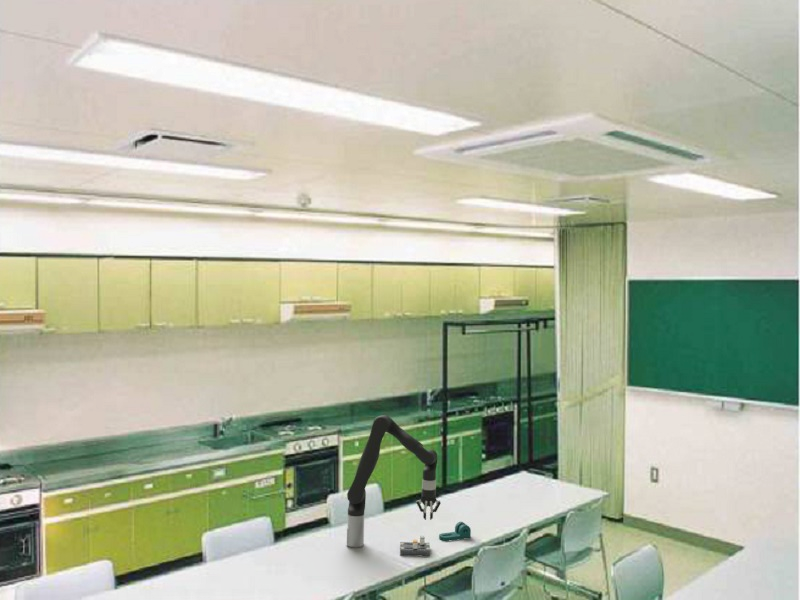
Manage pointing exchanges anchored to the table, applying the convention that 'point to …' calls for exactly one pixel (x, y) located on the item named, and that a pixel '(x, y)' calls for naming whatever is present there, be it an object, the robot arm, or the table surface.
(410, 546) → the panel
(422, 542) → the block
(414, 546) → the block
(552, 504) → the table surface
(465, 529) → the bracket
